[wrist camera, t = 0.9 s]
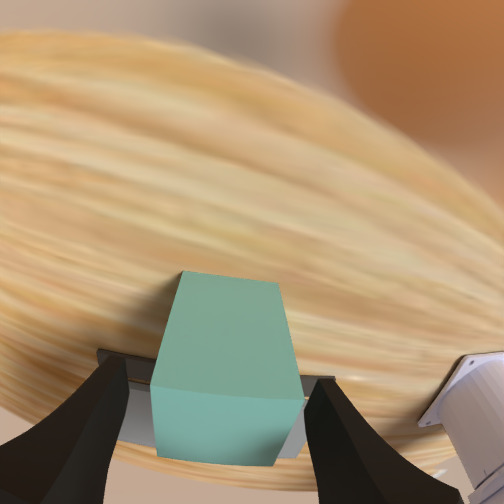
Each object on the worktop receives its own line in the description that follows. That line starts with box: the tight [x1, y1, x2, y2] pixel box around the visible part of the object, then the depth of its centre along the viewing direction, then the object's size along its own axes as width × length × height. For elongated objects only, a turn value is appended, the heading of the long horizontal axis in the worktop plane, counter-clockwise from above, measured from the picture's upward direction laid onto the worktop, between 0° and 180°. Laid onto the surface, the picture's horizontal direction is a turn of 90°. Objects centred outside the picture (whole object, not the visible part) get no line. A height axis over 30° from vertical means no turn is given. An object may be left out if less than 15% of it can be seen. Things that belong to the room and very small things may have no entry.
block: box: [150, 271, 305, 466], centre depth 12 cm, size 4×4×7 cm
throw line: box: [97, 349, 336, 397], centre depth 17 cm, size 14×2×1 cm, turn 80°
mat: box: [117, 381, 308, 458], centre depth 19 cm, size 14×7×1 cm, turn 80°
